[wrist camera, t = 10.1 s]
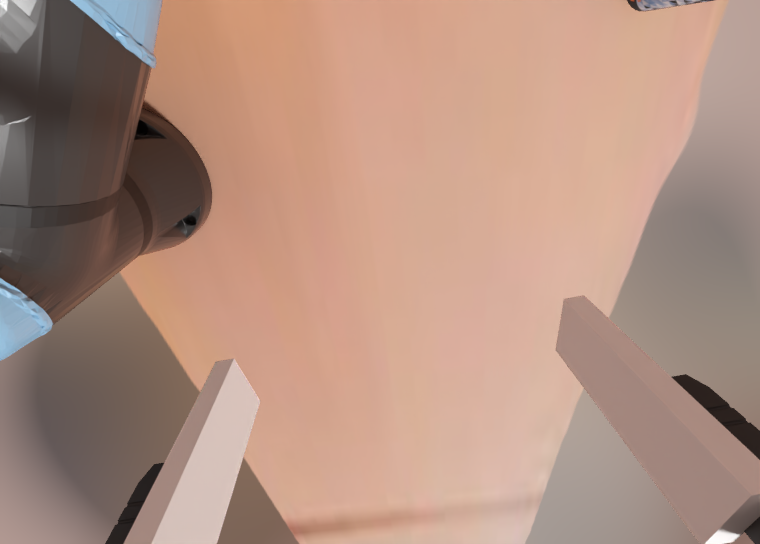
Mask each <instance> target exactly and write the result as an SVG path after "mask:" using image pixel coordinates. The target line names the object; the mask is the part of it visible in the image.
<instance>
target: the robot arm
mask: <svg viewBox="0 0 760 544" xmlns="http://www.w3.org/2000/svg"><path fill="white" fill-rule="evenodd" d="M161 7H162V0H0V361H1V360H3V359H5V358H7V357H8V356H10V355H11V354H13V353H14V352H16V351H17V350H19V349H20V348H22V347H23V346H25V345H27V344H28V343H30V342H31V341H33V340H34V339H36V338H38V337H39V336H42V335H44V334H45V333H47V332H48V331H50V330H51V329H52V326H53V325H54V324H55V323H56V322H58V321H59V320H60V319H61V318H62V317H64V316H65V315H66V314H67V313H69V312H70V311H71V310H72V309H74V308H75V307H76V306H77V305H78V304H80V303H81V302H82V301H83V300H85V299H86V298H87V297H88V296H90V295H91V294H92V293H93V292H95V291H96V290H97V289H98V288H100V287H101V286H102V285H103V284H104V283H106V282H107V281H108V280H109V279H111V278H112V277H113V276H114V275H115V274H117V273H118V272H119V271H121V270H122V269H123V268H124V267H125V266H127V265H128V264H129V263H130V262H132V261H133V260H134V259H135V258H137V257H138V256H140V255H144V254H148V253H152V252H156V251H160V250H164V249H168V248H171V247H174V246H176V245H179V244H180V243H182V242H184V241H186V240H187V239H188V238H190V237H191V236H192V235H193V234H194V233H195V232H196V231H197V230H199V229H200V228H201V226H202V225H203V224H204V222H205V221H206V219H207V217H208V215H209V212H210V209H211V203H212V190H211V183H210V179H209V176H208V173H207V170H206V168H205V166H204V164H203V162H202V160H201V158H200V157H199V155H198V153H197V152H196V150H195V149H194V148H193V146H192V145H191V144H190V143H189V142H188V140H187V139H186V138H185V137H184V136H183V135H182V134H181V133H180V132H179V131H178V130H177V129H175V128H174V127H173V126H172V125H170V124H169V123H168V122H166V121H165V120H163V119H162V118H160V117H159V116H157V115H155V114H154V113H152V112H150V111H148V110H146V109H143V108H142V105H143V101H144V97H145V93H146V88H147V84H148V80H149V76H150V72H151V68H155V67H156V58H155V56H154V54H153V53H154V47H155V41H156V36H157V30H158V24H159V18H160V12H161ZM556 351H557V352H558V354H559V355H560V356H561V358H562V359H563V360H564V362H565V363H566V364H567V366H568V367H569V369H570V370H571V371H572V373H573V374H574V375H575V377H576V378H577V379H578V381H579V382H580V383H581V385H582V386H583V387H584V389H585V390H586V391H587V393H588V394H589V395H590V397H591V398H592V399H593V401H594V402H595V403H596V405H597V406H598V408H599V409H600V410H601V411H602V413H603V414H604V416H605V417H606V418H607V420H608V421H609V422H610V423H611V425H612V426H613V428H614V429H615V430H616V432H617V433H618V434H619V436H620V437H621V438H622V440H623V441H624V442H625V444H626V445H627V446H628V448H629V449H630V451H631V452H632V453H633V455H634V456H635V457H636V458H637V460H638V461H639V463H640V464H641V465H642V467H643V468H644V469H645V471H646V472H647V473H648V475H649V476H650V477H651V479H652V480H653V481H654V483H655V484H656V486H657V487H658V488H659V490H660V491H661V492H662V494H663V495H664V496H665V498H666V499H667V500H668V502H669V503H670V504H671V506H672V507H673V508H674V510H675V511H676V512H677V514H678V515H679V516H680V518H681V519H682V520H683V522H684V523H685V524H686V526H687V527H688V529H689V530H690V531H691V533H692V534H693V535H694V537H695V538H696V539H697V541H698V542H699V543H700V544H723V543H729V542H734V541H735V540H736V539H737V538H739V536H741V535H742V534H743V533H744V532H745V533H746V534H747V535H748V536H749V538H750V539H751V540H752V541H753V542H754V543H755V544H760V431H759V430H758V429H757V428H756V427H755V426H753V425H752V424H751V423H748V422H747V421H746V419H745V418H744V417H743V416H742V415H741V414H740V413H738V412H737V411H736V410H735V409H734V408H731V407H730V406H729V404H728V403H727V402H725V400H723V399H722V398H721V397H720V396H719V395H718V394H716V393H715V392H714V391H713V390H712V389H710V388H709V387H708V386H706V385H704V384H702V383H700V382H699V381H697V380H695V379H693V378H691V377H690V376H688V375H686V374H685V375H680V376H674V377H671V376H669V375H668V374H667V373H666V372H665V371H664V370H663V369H662V368H661V367H660V366H659V365H658V364H657V363H656V362H655V361H654V360H652V359H651V358H650V357H649V356H648V355H647V354H646V353H645V352H644V351H643V350H642V349H641V348H639V347H638V346H637V345H636V344H635V343H634V342H633V341H632V340H631V339H630V338H629V337H628V336H627V335H626V334H625V333H623V331H621V330H620V329H619V328H618V327H617V326H616V325H615V324H614V323H613V322H612V321H611V320H610V319H609V318H608V317H607V316H605V315H604V314H603V313H602V312H601V311H600V310H599V309H598V308H597V307H596V306H595V305H594V304H593V303H592V302H590V301H589V300H588V299H587V298H586V297H585V296H578V297H573V298H567V299H564V302H563V308H562V314H561V320H560V326H559V332H558V338H557V344H556ZM259 404H260V400H259V398H258V397H257V395H256V393H255V392H254V390H253V388H252V387H251V385H250V384H249V382H248V380H247V379H246V377H245V375H244V374H243V372H242V371H241V369H240V367H239V366H238V364H237V362H236V361H235V359H229V360H223V361H218V362H215V364H214V366H213V368H212V370H211V372H210V374H209V376H208V378H207V380H206V382H205V384H204V386H203V388H202V390H201V392H200V394H199V396H198V398H197V400H196V402H195V404H194V406H193V408H192V410H191V412H190V414H189V416H188V418H187V420H186V421H185V423H184V426H183V427H182V429H181V431H180V433H179V435H178V437H177V439H176V441H175V443H174V445H173V447H172V449H171V451H170V453H169V455H168V457H167V459H166V461H165V463H159V464H154V465H153V466H152V468H151V469H150V470H149V471H148V472H147V474H146V475H145V476H144V477H143V478H142V480H141V481H140V482H139V483H138V485H137V487H136V488H135V490H134V492H133V494H132V496H131V498H130V500H129V501H128V503H127V504H128V506H127V507H126V508H125V509H124V511H123V512H122V514H121V516H120V518H119V520H118V524H117V525H115V527H114V529H113V530H112V532H111V534H110V536H109V538H108V540H107V541H106V543H105V544H217V541H218V538H219V535H220V531H221V528H222V525H223V522H224V518H225V515H226V511H227V508H228V505H229V502H230V498H231V495H232V492H233V489H234V486H235V482H236V479H237V475H238V472H239V469H240V466H241V463H242V459H243V456H244V453H245V450H246V446H247V443H248V440H249V436H250V433H251V430H252V427H253V423H254V420H255V417H256V413H257V410H258V407H259Z"/></svg>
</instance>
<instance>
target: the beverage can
mask: <svg viewBox="0 0 760 544" xmlns="http://www.w3.org/2000/svg"><path fill="white" fill-rule="evenodd" d="M627 1H628V3H629V4H630V6H631V7H632V8H634V9H635V10H638V11H650V10H656V9H662V8H669V7H675V6H681V5H688V4H694V3H700V2H707V1H713V0H627Z"/></svg>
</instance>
